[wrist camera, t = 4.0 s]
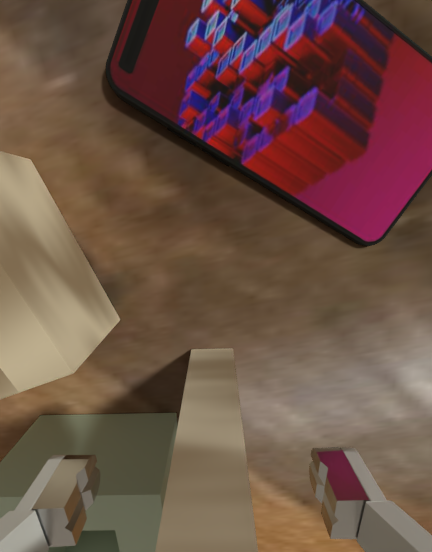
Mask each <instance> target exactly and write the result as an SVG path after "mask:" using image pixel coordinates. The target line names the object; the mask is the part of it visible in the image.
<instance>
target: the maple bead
mask: <svg viewBox="0 0 432 552" xmlns="http://www.w3.org/2000/svg"><path fill="white" fill-rule="evenodd" d="M119 321H120V318H119V316H118V315H117V313H116V311H115V309H114V307H113V306H112V304H111V302H110V300H109V298H108V297H107V295H106V293H105V291H104V289H103V288H102V286H101V284H100V282H99V281H98V279H97V277H96V275H95V273H94V272H93V270H92V268H91V266H90V264H89V263H88V261H87V259H86V257H85V256H84V254H83V252H82V250H81V248H80V247H79V245H78V243H77V241H76V239H75V238H74V236H73V234H72V232H71V231H70V229H69V227H68V225H67V223H66V222H65V220H64V218H63V216H62V214H61V213H60V211H59V209H58V207H57V206H56V204H55V202H54V200H53V198H52V197H51V195H50V193H49V191H48V189H47V188H46V186H45V184H44V182H43V181H42V179H41V177H40V175H39V173H38V172H37V170H36V168H35V166H34V164H33V163H32V161H31V159H27V158H23V157H20V156H16V155H12V154H9V153H5V152H1V151H0V399H3V398H5V397H8V396H11V395H14V394H17V393H20V392H22V391H25V390H28V389H31V388H34V387H36V386H39V385H42V384H45V383H48V382H51V381H53V380H56V379H59V378H62V377H65V376H67V375H70V374H73V373H74V372H75V371H76V370H77V369H78V368H79V367H80V365H81V364H82V363H83V362H84V361H85V360H86V359H87V357H88V356H89V355H90V354H91V353H92V352H93V351H94V349H95V348H96V347H97V346H98V345H99V344H100V343H101V341H102V340H103V339H104V338H105V337H106V336H107V335H108V333H109V332H110V331H111V330H112V329H113V328H114V326H115V325H116V324H117V323H118V322H119Z"/></svg>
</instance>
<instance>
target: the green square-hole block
mask: <svg viewBox="0 0 432 552" xmlns="http://www.w3.org/2000/svg"><path fill="white" fill-rule="evenodd" d="M177 427H178V426H177V415H176V413H134V414H82V415H40V416H39V418H38V419H37V420H36V421H35V422H34V423H33V425H32V426H31V427H30V428H29V429H28V430H27V432H26V433H25V434H24V435H23V436H22V437H21V439H20V440H19V441H18V442H17V443H16V444H15V446H14V447H13V448H12V449H11V450H10V451H9V453H8V454H7V455H6V456H5V457H4V458H3V460H2V461H1V462H0V518H2V517H3V516H4V515H5V514H6V513H8V512H9V511H14V510H15V508H16V507H17V505H18V504H19V502H20V501H21V499H22V498H23V496H24V495H25V493H26V492H27V490H28V489H29V487H30V486H31V484H32V483H33V481H34V480H35V478H36V477H37V475H38V474H39V472H40V471H41V469H42V468H43V466H44V465H45V463H46V462H47V460H48V459H50V458H51V457H52V456H53V455H96V458H97V463H96V465H95V466H96V467H97V468H98V469H99V470H100V485H99V489H98V493H97V495H96V498H95V500H94V503H93V504H92V505H91V506H90V507H89V508H88V509H87V510H86V515H87V520H86V522H85V525H84V527H83V530H82V532H81V534H80V537H79V539H78V542H77V544H76V546H60V547H49V550H48V552H155V550H156V544H157V539H158V533H159V528H160V522H161V516H162V511H163V505H164V500H165V494H166V489H167V483H168V477H169V472H170V466H171V461H172V455H173V449H174V444H175V438H176V433H177Z"/></svg>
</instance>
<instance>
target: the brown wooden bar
mask: <svg viewBox="0 0 432 552" xmlns="http://www.w3.org/2000/svg"><path fill="white" fill-rule="evenodd" d="M155 552H258V548H257V539H256V531H255V523H254V515H253V507H252V499H251V491H250V483H249V474H248V466H247V458H246V450H245V442H244V434H243V426H242V418H241V409H240V401H239V393H238V385H237V377H236V369H235V361H234V353H233V348H230V349H191V354H190V360H189V365H188V371H187V377H186V382H185V388H184V393H183V399H182V405H181V410H180V416H179V421H178V427H177V433H176V438H175V444H174V449H173V455H172V461H171V466H170V472H169V477H168V483H167V489H166V494H165V500H164V505H163V511H162V516H161V522H160V528H159V533H158V539H157V544H156V550H155Z"/></svg>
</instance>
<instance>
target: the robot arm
mask: <svg viewBox="0 0 432 552" xmlns="http://www.w3.org/2000/svg"><path fill="white" fill-rule="evenodd" d="M311 457H312V460H313V461H312V462H311V463H310V466H309V474H310V481H311V485H312V488H313V491H314V494H315V497H316V498H317V499H318V500H319V501H320V502H321V503H322V508H321V514H322V517H323V520H324V523H325V525H326V528H327V531H328V534H329V536H330V539H357V542H358V543H359V544H360V546H361V547H362V548H363V549H364V551H365V552H432V535H431V534H430V533H428V532H427V531H426V530H425V529H424V528H423V527H421V526H420V525H419V524H418V523H417V522H416V521H415V520H413V519H412V518H411V517H410V516H409V515H408V514H406V513H405V512H404V511H403V510H402V509H401V508H399V507H398V506H397V505H396V504H395V503H394V502H392V501H387V500H386V498H385V496H384V495H383V493H382V491H381V490H380V488H379V486H378V485H377V483H376V481H375V480H374V478H373V476H372V475H371V473H370V471H369V470H368V468H367V466H366V465H365V463H364V461H363V460H362V458H361V456H360V455H359V453H358V451H357V450H356V449H355V448H354V447H342V448H339V447H330V448H313V449H312V450H311ZM96 463H97V458H96V455H53V456H52V457H51V458H50V459H48V460H47V462H46V463H45V465H44V466H43V468H42V469H41V471H40V472H39V474H38V475H37V477H36V478H35V480H34V481H33V483H32V484H31V486H30V487H29V489H28V490H27V492H26V493H25V495H24V496H23V498H22V499H21V501H20V502H19V504H18V505H17V507H16V508H15V510H14V511H9V512H8V513H6V514H5V515H4V516H3V517H2V518H0V552H48V550H49V547H60V546H76V544H77V542H78V539H79V537H80V534H81V532H82V530H83V527H84V525H85V522H86V520H87V515H86V510H87V509H88V508H89V507H90V506H91V505H92V504H93V503H94V500H95V498H96V495H97V493H98V489H99V485H100V470H99V469H98V468H97V467H96V466H95V465H96Z"/></svg>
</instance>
